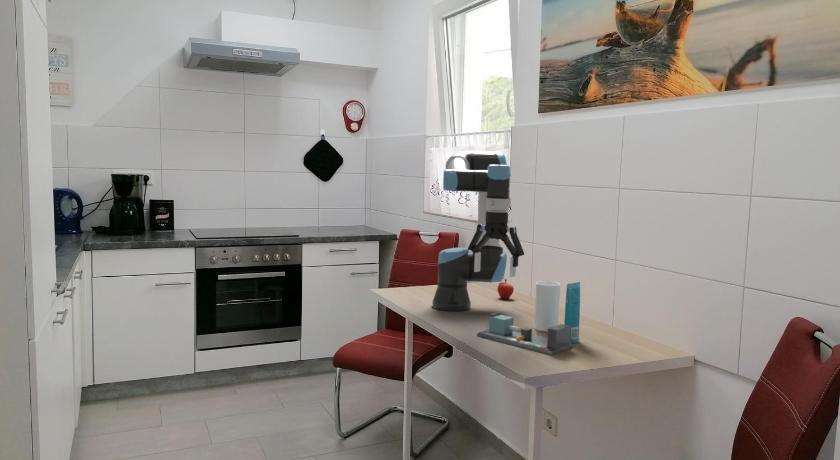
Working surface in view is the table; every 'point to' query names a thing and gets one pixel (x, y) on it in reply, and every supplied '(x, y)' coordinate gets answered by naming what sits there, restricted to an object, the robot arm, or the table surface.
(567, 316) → the tube
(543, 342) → the rail base
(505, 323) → the block
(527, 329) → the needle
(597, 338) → the table surface
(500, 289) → the apple
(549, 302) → the cup
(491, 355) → the table surface
